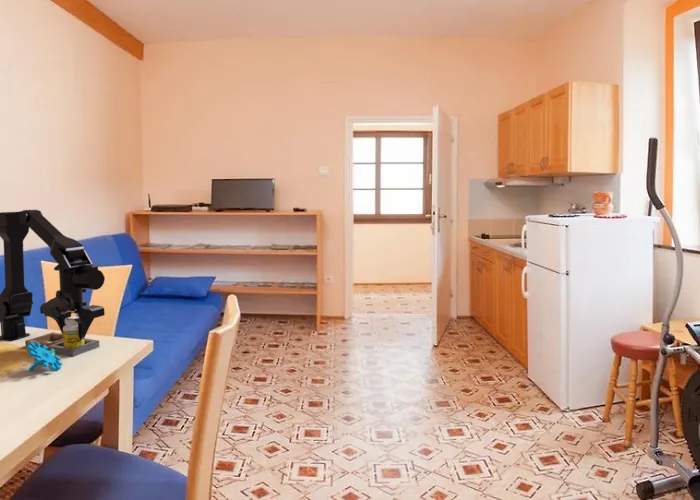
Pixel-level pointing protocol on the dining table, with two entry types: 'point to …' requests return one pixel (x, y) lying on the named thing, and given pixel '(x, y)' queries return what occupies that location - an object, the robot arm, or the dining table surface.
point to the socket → (60, 349)
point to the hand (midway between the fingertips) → (73, 338)
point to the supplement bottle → (71, 333)
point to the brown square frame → (46, 339)
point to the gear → (43, 357)
